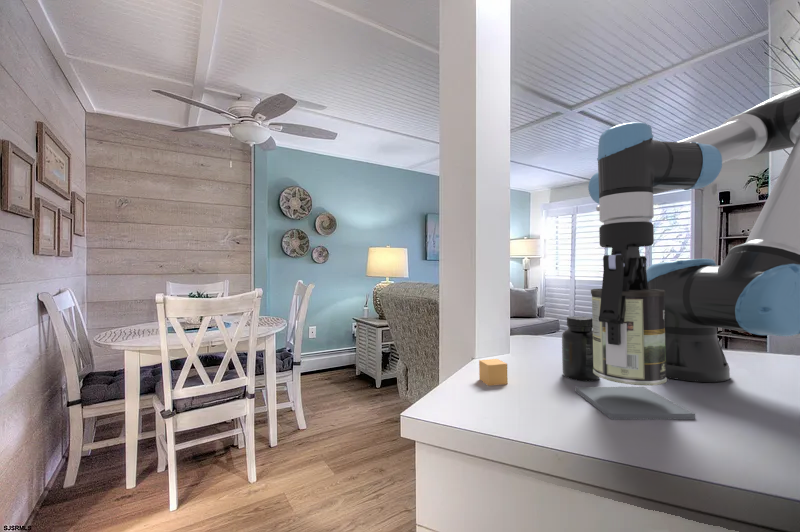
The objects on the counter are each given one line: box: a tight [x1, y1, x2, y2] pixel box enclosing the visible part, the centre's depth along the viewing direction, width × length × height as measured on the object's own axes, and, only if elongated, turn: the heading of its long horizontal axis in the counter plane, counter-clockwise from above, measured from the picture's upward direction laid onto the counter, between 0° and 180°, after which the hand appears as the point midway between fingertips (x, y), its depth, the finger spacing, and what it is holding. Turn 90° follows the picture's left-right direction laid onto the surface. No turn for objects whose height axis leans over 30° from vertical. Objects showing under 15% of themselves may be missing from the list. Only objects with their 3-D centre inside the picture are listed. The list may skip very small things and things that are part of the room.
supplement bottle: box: [561, 315, 600, 382], centre depth 74 cm, size 7×7×12 cm
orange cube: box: [478, 358, 509, 387], centre depth 72 cm, size 4×4×4 cm
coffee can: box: [590, 288, 668, 386], centre depth 59 cm, size 10×10×14 cm
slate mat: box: [574, 386, 696, 420], centre depth 59 cm, size 12×12×1 cm
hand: (627, 359), depth 59 cm, fingers closed on coffee can, 10 cm apart
